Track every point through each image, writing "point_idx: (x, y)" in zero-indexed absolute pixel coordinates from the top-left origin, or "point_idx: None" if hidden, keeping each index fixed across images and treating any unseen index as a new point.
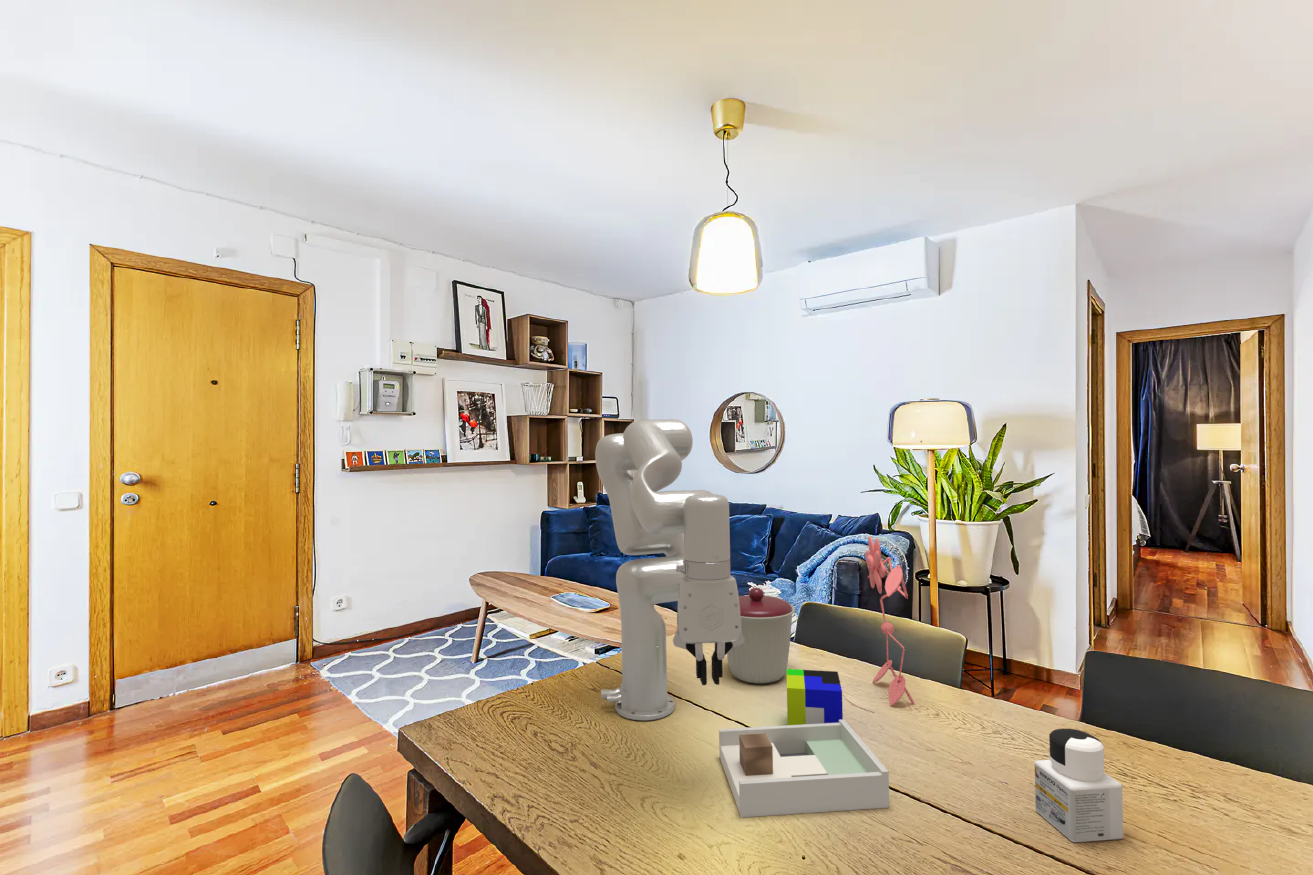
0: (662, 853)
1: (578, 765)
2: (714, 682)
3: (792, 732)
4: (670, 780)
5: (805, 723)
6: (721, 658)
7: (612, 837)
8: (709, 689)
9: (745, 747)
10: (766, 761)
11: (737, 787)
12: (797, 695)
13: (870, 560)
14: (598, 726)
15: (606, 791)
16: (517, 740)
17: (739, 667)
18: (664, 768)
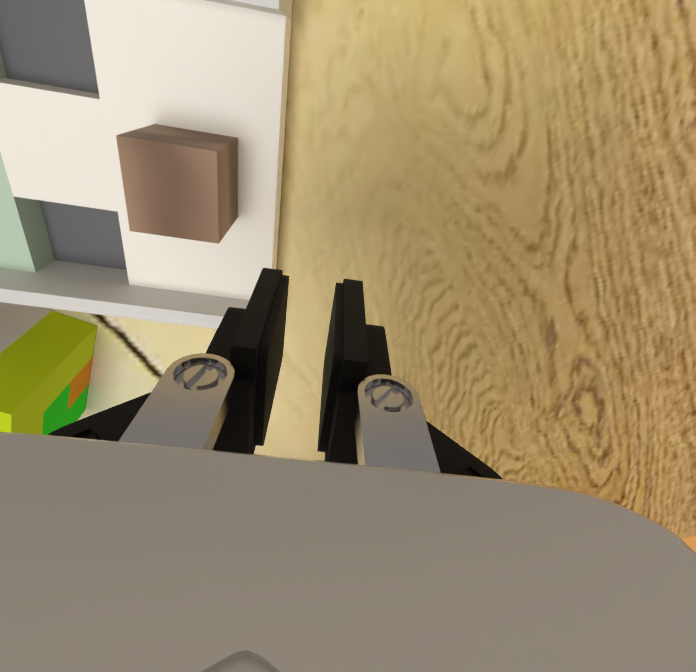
0: None
1: (582, 339)
2: (287, 288)
3: (59, 288)
4: (416, 233)
5: (22, 335)
6: (202, 365)
7: (661, 5)
8: None
9: (214, 153)
10: (159, 131)
11: (277, 76)
12: None
13: None
14: (483, 454)
15: (574, 226)
16: (646, 442)
17: None
18: (412, 284)
